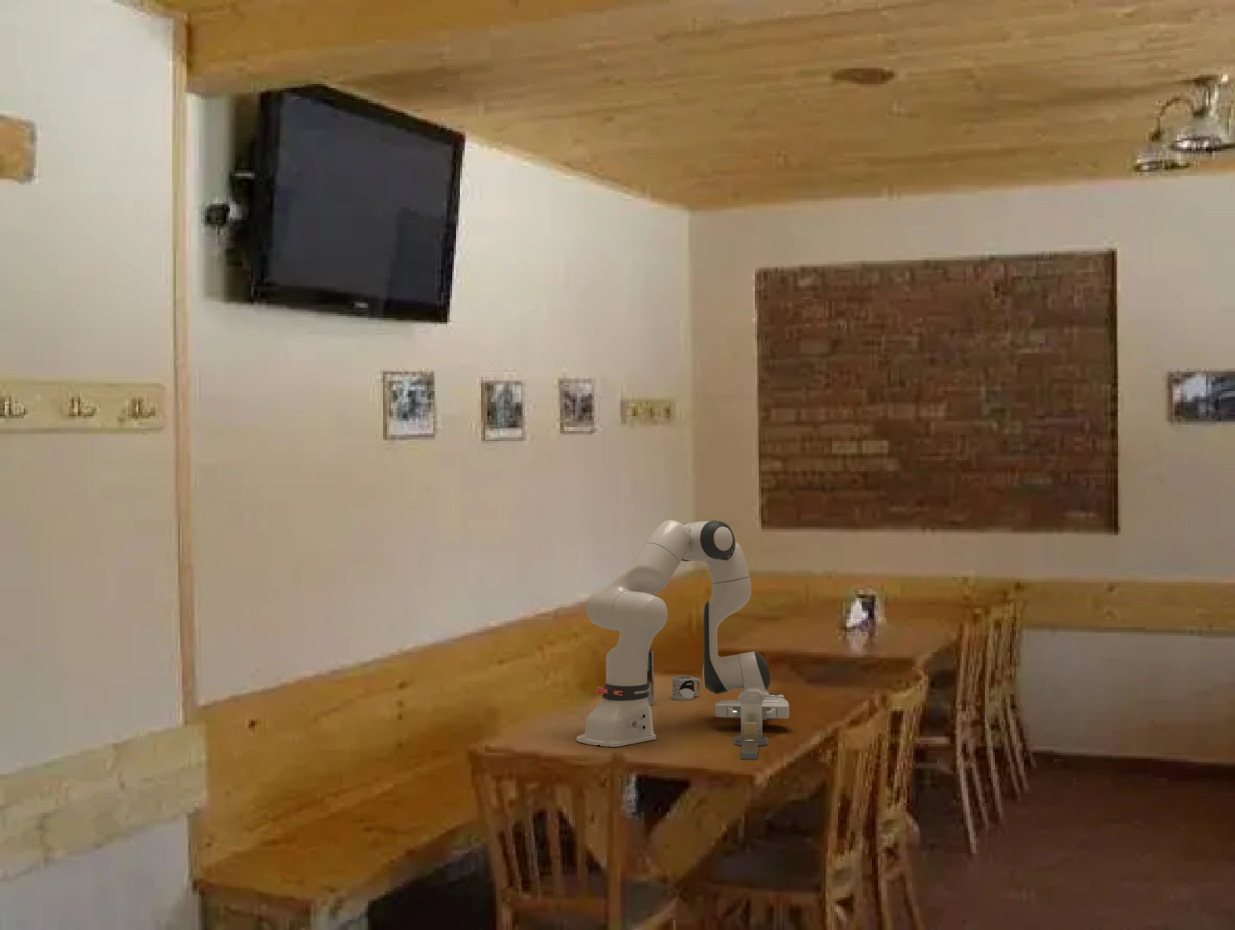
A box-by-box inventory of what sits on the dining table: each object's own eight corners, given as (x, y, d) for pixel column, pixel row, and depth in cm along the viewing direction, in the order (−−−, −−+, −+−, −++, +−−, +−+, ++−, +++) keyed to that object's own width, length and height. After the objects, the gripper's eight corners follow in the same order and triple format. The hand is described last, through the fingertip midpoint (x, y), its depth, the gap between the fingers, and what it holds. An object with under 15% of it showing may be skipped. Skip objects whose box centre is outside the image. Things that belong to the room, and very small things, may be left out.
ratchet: (734, 739, 404) (734, 719, 404) (768, 740, 403) (768, 719, 403) (730, 759, 381) (730, 737, 381) (766, 760, 380) (766, 738, 379)
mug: (681, 701, 459) (681, 679, 459) (668, 698, 464) (668, 676, 464) (707, 698, 465) (707, 676, 465) (693, 694, 470) (693, 673, 470)
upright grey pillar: (761, 737, 406) (762, 699, 406) (740, 737, 406) (740, 699, 406) (762, 733, 411) (762, 696, 411) (741, 733, 412) (741, 695, 412)
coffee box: (654, 701, 459) (654, 648, 458) (652, 705, 452) (652, 651, 452) (624, 701, 460) (624, 648, 459) (622, 705, 453) (622, 651, 453)
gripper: (715, 693, 424) (712, 702, 410) (789, 694, 421) (789, 704, 407) (715, 715, 424) (712, 725, 410) (789, 717, 421) (789, 727, 408)
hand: (751, 714), depth 409 cm, fingers open, 8 cm apart
